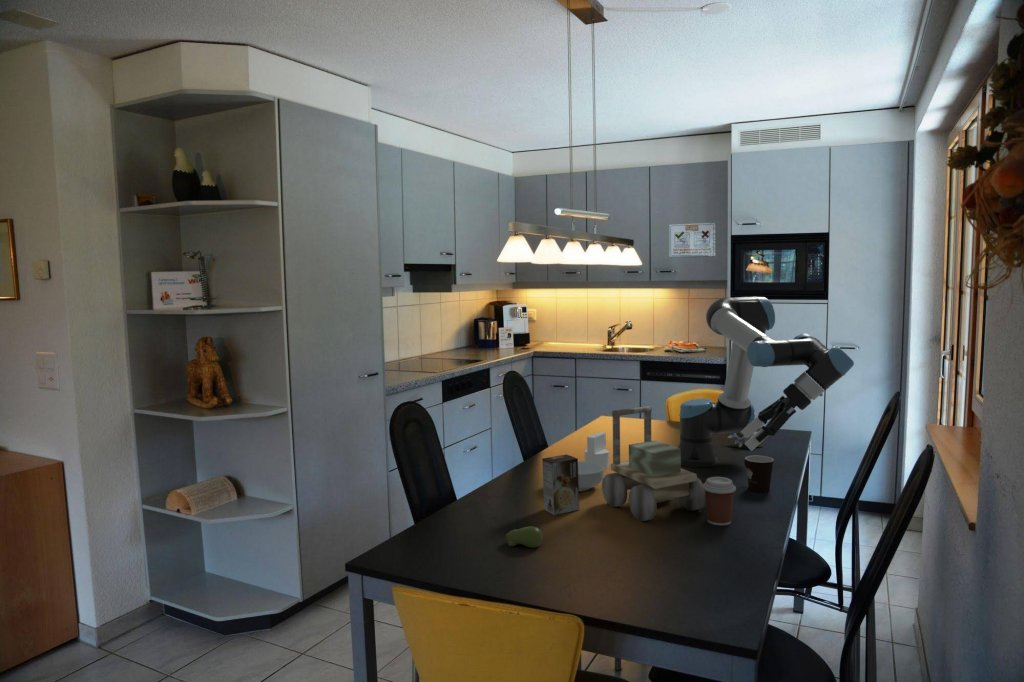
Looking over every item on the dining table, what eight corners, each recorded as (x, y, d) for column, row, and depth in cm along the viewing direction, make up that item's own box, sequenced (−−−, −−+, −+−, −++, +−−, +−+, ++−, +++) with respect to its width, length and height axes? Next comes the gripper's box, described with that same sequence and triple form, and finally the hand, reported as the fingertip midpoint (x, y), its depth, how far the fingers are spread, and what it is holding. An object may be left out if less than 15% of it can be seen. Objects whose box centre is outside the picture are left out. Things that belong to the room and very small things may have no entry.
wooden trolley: (602, 501, 209) (601, 410, 207) (655, 491, 218) (654, 403, 216) (649, 526, 188) (649, 424, 185) (706, 513, 197) (706, 416, 194)
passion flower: (740, 460, 272) (722, 436, 273) (747, 449, 281) (729, 426, 282) (763, 448, 265) (745, 423, 267) (769, 437, 274) (751, 413, 275)
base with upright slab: (601, 471, 242) (601, 438, 241) (580, 467, 248) (579, 435, 247) (613, 465, 250) (613, 434, 248) (592, 462, 255) (592, 431, 254)
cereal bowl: (613, 486, 225) (613, 465, 224) (584, 499, 212) (583, 477, 212) (573, 477, 236) (573, 457, 236) (543, 488, 224) (542, 468, 223)
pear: (536, 530, 172) (501, 532, 176) (539, 550, 172) (504, 551, 176) (543, 523, 177) (509, 524, 181) (547, 542, 177) (512, 543, 181)
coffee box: (568, 504, 208) (567, 453, 207) (579, 510, 202) (578, 458, 201) (542, 509, 204) (541, 457, 202) (553, 515, 198) (552, 462, 197)
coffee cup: (700, 525, 188) (700, 483, 187) (704, 514, 196) (703, 474, 195) (735, 528, 184) (735, 486, 183) (736, 517, 193) (736, 476, 192)
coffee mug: (775, 493, 213) (775, 462, 212) (747, 492, 215) (747, 462, 214) (769, 482, 224) (769, 453, 223) (742, 481, 226) (742, 452, 225)
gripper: (821, 410, 177) (759, 462, 183) (805, 392, 201) (751, 439, 207) (800, 390, 178) (739, 443, 184) (786, 374, 202) (733, 421, 208)
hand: (745, 441), depth 195 cm, fingers open, 13 cm apart
